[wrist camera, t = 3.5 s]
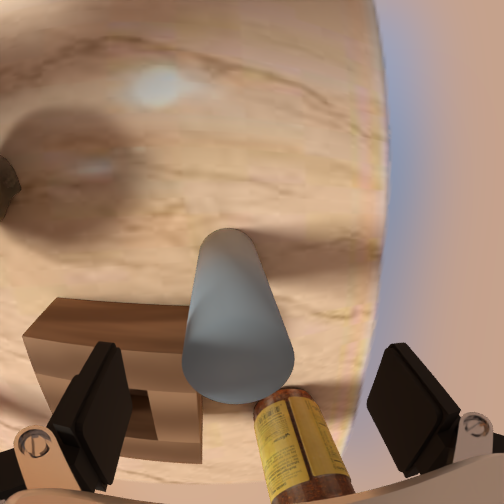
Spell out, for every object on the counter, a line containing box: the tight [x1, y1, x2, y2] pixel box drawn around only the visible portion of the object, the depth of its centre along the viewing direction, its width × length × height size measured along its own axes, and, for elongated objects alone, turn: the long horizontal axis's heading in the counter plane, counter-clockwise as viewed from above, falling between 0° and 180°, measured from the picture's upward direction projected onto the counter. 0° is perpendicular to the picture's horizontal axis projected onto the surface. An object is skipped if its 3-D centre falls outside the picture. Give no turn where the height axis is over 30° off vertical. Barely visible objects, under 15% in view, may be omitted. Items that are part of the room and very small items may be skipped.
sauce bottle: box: [253, 389, 355, 504], centre depth 18 cm, size 6×6×20 cm
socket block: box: [22, 298, 203, 464], centre depth 21 cm, size 12×12×6 cm
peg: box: [182, 228, 295, 404], centre depth 16 cm, size 4×4×12 cm
